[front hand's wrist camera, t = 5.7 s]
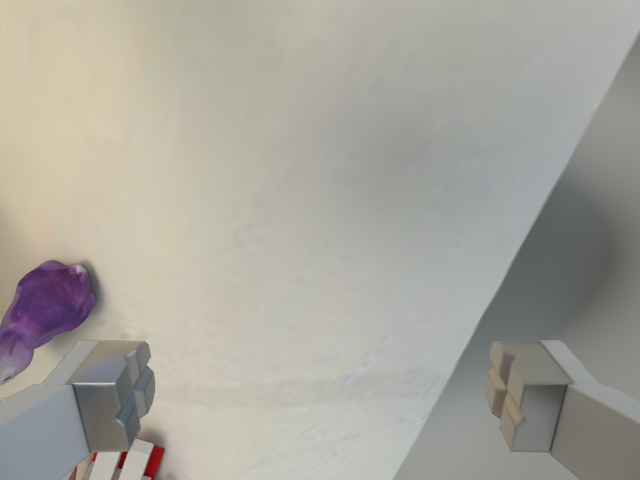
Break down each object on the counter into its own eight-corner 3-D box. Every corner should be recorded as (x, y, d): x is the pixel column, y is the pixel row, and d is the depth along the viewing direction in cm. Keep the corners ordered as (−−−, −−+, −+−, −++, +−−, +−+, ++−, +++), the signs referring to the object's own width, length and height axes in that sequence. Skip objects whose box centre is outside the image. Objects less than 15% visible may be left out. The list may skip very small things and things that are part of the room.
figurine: (39, 333, 58) (-49, 419, 44) (13, 261, 54) (-93, 331, 40) (111, 328, 58) (45, 414, 44) (90, 256, 54) (10, 324, 40)
